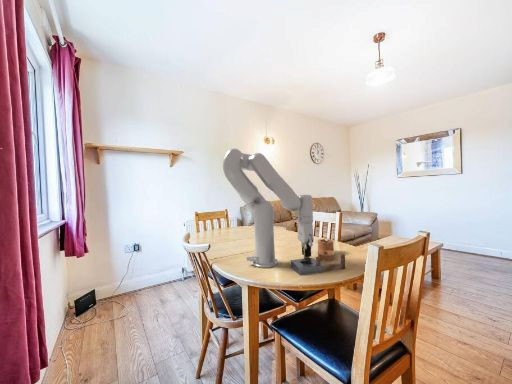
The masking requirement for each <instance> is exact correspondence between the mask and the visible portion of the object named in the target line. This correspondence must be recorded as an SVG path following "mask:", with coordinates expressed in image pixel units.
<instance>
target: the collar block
mask: <svg viewBox="0 0 512 384" xmlns="http://www.w3.org/2000/svg"><path fill="white" fill-rule="evenodd" d="M323 265H324V264H322V263H321V265H316V258H313V257H310V258H306V259H304V258H298V259H290V268H291V269H292V270H294V272H296V273H297V274H298V275H299V276H301V275H309V274H310V275H311V274H319V273H324V271H323Z"/></svg>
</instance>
